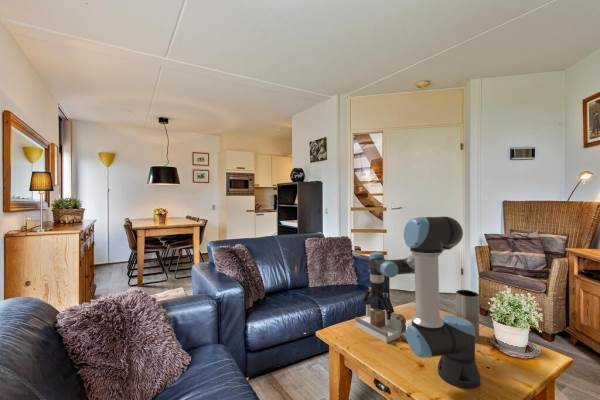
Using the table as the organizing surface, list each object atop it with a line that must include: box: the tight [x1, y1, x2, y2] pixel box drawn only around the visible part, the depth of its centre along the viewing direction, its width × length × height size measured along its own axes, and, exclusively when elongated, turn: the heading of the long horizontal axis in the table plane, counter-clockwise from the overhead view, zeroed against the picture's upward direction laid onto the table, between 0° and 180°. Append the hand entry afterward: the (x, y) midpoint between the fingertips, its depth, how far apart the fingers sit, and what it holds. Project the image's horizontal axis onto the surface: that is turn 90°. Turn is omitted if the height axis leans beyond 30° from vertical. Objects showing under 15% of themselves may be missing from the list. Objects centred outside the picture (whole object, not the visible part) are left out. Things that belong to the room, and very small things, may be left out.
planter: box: [455, 289, 480, 342], centre depth 147 cm, size 10×10×23 cm
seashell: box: [391, 312, 407, 332], centre depth 159 cm, size 10×9×10 cm
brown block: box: [370, 308, 386, 328], centre depth 154 cm, size 5×7×8 cm
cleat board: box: [354, 307, 402, 344], centre depth 155 cm, size 22×12×8 cm, turn 32°
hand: (377, 320), depth 155 cm, fingers open, 13 cm apart
